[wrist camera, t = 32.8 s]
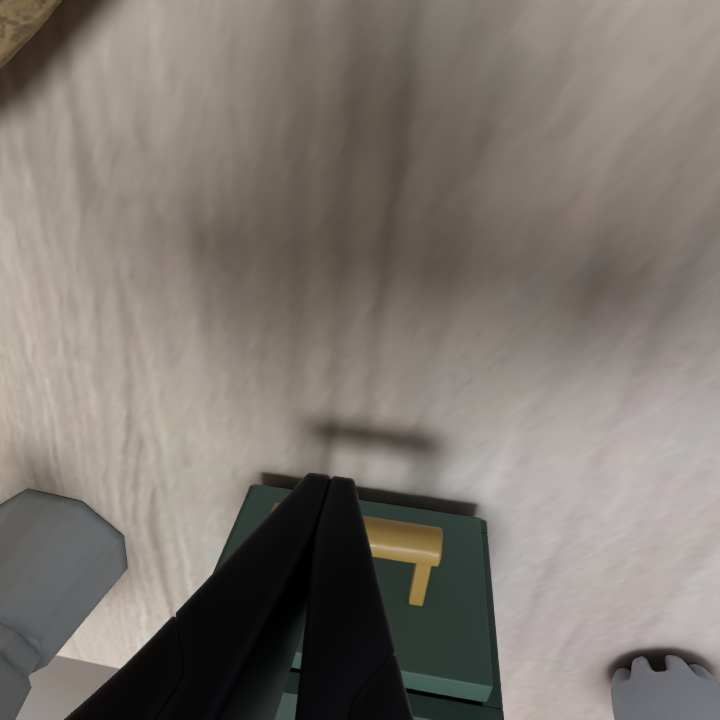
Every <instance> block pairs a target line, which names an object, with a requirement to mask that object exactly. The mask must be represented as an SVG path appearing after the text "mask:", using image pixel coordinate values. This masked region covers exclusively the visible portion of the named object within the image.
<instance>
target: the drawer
mask: <svg viewBox="0 0 720 720" xmlns="http://www.w3.org/2000/svg"><path fill="white" fill-rule="evenodd" d="M291 491H292V490H290V489H284V488H277V487H270V486H264V485H257V484H255V485H254V487H253V490H252V492H251V494H250V497H249V499H248V502H247V504H246V506H245V509H244V511H243V513H242V516H241V518H240V520H239V523H238V525H237V527H236V530H235V532H234V535H233V537H232V539H231V542H230V544H229V546H228V549H227V551H226V553H225V556H224V558H223V560H222V563H221V565H222V564H223V563H224V562H225V560H226V559H227V558H228V557H229V556H230V555H231V554H232V553H233V552H234V551H235V550H236V549H237V548H238V547H239V546H240V545H241V544H242V543H243V541H244V540H245V539H246V538H247V537H248V536H249V535H250V534H251V533H252V532H253V531H254V530H255V529H256V528H257V527H258V526H259V525H260V524H261V522H262V521H263V520H264V519H265V518H266V517H267V516H268V515H269V514H270V513H271V512H272V511H273V510H274V509H275V508H276V507H277V506H278V505H279V503H280V502H281V501H282V500H283V499H284V498H285V497H286V496H287V495H288V494H289V493H290V492H291ZM359 502H360V506H361V510H362V514H363V519H364V523H365V527H366V531H367V535H368V539H369V543H370V547H371V551H372V556H373V560H374V564H375V568H376V572H377V576H378V580H379V584H380V588H381V593H382V597H383V601H384V605H385V609H386V613H387V617H388V621H389V625H390V630H391V634H392V638H393V642H394V646H395V650H396V653H395V655H396V656H397V657H398V661H399V666H400V670H401V674H402V678H403V682H404V685H405V689H406V693H412V694H417V695H423V696H428V697H434V698H439V699H445V700H450V701H456V702H461V698H464V699H469V700H475V701H481V702H487V700H488V698H489V695H490V693H491V690H492V688H493V681H492V668H491V655H490V642H489V629H488V616H487V603H486V590H485V577H484V564H483V551H482V538H481V525H480V518H477V517H470V516H463V515H457V514H450V513H443V512H437V511H430V510H423V509H417V508H410V507H403V506H397V505H390V504H384V503H377V502H370V501H364V500H359ZM221 565H220V566H221ZM304 629H305V626H304ZM304 629H303V632H302V635H301V638H300V641H299V644H298V648H297V651H296V654H295V657H294V660H293V663H292V668H298V669H300V666H301V657H302V647H303V638H304ZM461 703H462V702H461Z"/></svg>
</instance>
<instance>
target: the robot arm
mask: <svg viewBox="0 0 720 720" xmlns="http://www.w3.org/2000/svg"><path fill="white" fill-rule="evenodd" d="M304 626H305V629H304ZM303 629H304V638H303V647H302V657H301V666H300V676H299V685H298V695H297V704H296V714H295V720H414V718H413V714H412V711H411V707H410V704H409V700H408V696H407V693H406V689H405V685H404V682H403V678H402V674H401V670H400V666H399V661H398V657H397V656H396V655H395V653H396V650H395V646H394V642H393V638H392V634H391V630H390V625H389V621H388V617H387V613H386V609H385V605H384V601H383V597H382V593H381V588H380V584H379V580H378V576H377V572H376V568H375V564H374V560H373V556H372V551H371V547H370V543H369V539H368V535H367V531H366V527H365V523H364V519H363V514H362V510H361V506H360V502H359V498H358V494H357V490H356V486H355V482H354V480H353V479H351V478H344V477H337V476H334V477H332V478H330V476H328V475H324V474H317V473H309V474H307V475H306V476H305V477H304V478H303V479H302V480H301V481H300V482H299V483H298V484H297V486H296V487H295V488H294V489H293V490H292V491H291V492H290V493H289V494H288V495H287V496H286V497H285V498H284V499H283V500H282V501H281V502H280V503H279V505H278V506H277V507H276V508H275V509H274V510H273V511H272V512H271V513H270V514H269V515H268V516H267V517H266V518H265V519H264V520H263V521H262V522H261V524H260V525H259V526H258V527H257V528H256V529H255V530H254V531H253V532H252V533H251V534H250V535H249V536H248V537H247V538H246V539H245V540H244V541H243V543H242V544H241V545H240V546H239V547H238V548H237V549H236V550H235V551H234V552H233V553H232V554H231V555H230V556H229V557H228V558H227V559H226V560H225V562H224V563H223V564H222V565H221V566H220V567H219V568H218V569H217V570H216V571H215V572H214V573H213V574H212V575H211V576H210V577H209V578H208V579H207V581H206V582H205V583H204V584H203V585H202V586H201V587H200V588H199V589H198V590H197V591H196V592H195V593H194V594H193V595H192V596H191V597H190V598H189V600H188V601H187V602H186V603H185V604H184V605H183V606H182V607H181V608H180V609H179V610H178V611H177V612H176V617H171V618H170V619H169V620H168V621H167V622H166V623H165V625H164V626H163V627H162V628H161V629H160V630H159V631H158V632H157V633H156V634H155V635H154V636H153V637H152V638H151V639H150V640H149V641H148V642H147V643H146V644H145V645H144V646H143V647H142V648H141V649H140V650H139V651H138V652H137V653H136V654H135V655H134V656H133V657H132V658H131V659H130V660H129V661H128V662H127V663H126V664H125V665H124V666H123V667H122V668H121V669H120V670H119V671H118V672H117V673H116V674H114V675H113V676H112V677H111V678H110V679H109V680H108V681H107V682H106V683H105V684H103V685H102V686H101V687H100V688H99V689H98V690H97V691H96V692H95V693H94V694H92V695H91V696H90V697H89V698H88V699H87V700H86V701H85V702H83V703H82V704H81V705H80V706H79V707H78V708H77V709H75V710H74V711H73V712H72V713H71V714H70V715H69V716H67V718H65V719H64V720H275V717H276V714H277V711H278V708H279V704H280V701H281V698H282V695H283V692H284V689H285V685H286V682H287V679H288V676H289V673H290V670H291V667H292V663H293V660H294V657H295V654H296V651H297V648H298V644H299V641H300V638H301V635H302V632H303Z"/></svg>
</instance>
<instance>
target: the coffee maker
mask: <svg viewBox="0 0 720 720" xmlns="http://www.w3.org/2000/svg"><path fill="white" fill-rule="evenodd" d="M126 569H127V560H126V552H125V545H124V537H123V535H122V534H120V533H119V532H118V531H117V530H116V529H114V528H113V527H112V526H111V525H110V524H108V523H107V522H106V521H105V520H103V519H102V518H101V517H100V516H99V515H97V514H96V513H95V512H94V511H92V510H91V509H90V508H89V507H88V506H86V505H85V504H84V503H83V502H81V501H77V500H73V499H68V498H64V497H60V496H56V495H51V494H47V493H43V492H39V491H34V490H30V489H26V490H25V491H23V492H21V493H19V494H18V495H16V496H14V497H13V498H11V499H9V500H8V501H6V502H4V503H2V504H1V505H0V720H15V719H16V717H17V715H18V713H19V711H20V709H21V707H22V705H23V703H24V701H25V699H26V697H27V695H28V693H29V691H30V690H31V684H30V681H29V678H28V677H29V676H30V674H31V673H33V672H35V671H37V670H39V669H41V668H43V667H45V666H47V665H48V664H49V662H50V661H51V660H52V659H53V658H54V656H55V655H56V654H57V653H58V652H59V650H60V649H61V648H62V647H63V645H64V644H65V643H66V642H67V641H68V639H69V638H70V637H71V636H72V635H73V633H74V632H75V631H76V630H77V629H78V627H79V626H80V625H81V624H82V623H83V621H84V620H85V619H86V618H87V616H88V615H89V614H90V613H91V612H92V610H93V609H94V608H95V607H96V606H97V604H98V603H99V602H100V601H101V600H102V598H103V597H104V596H105V595H106V593H107V592H108V591H109V590H110V589H111V587H112V586H113V585H114V584H115V583H116V581H117V580H118V579H119V578H120V577H121V575H122V574H123V573H124V572H125V571H126Z"/></svg>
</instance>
